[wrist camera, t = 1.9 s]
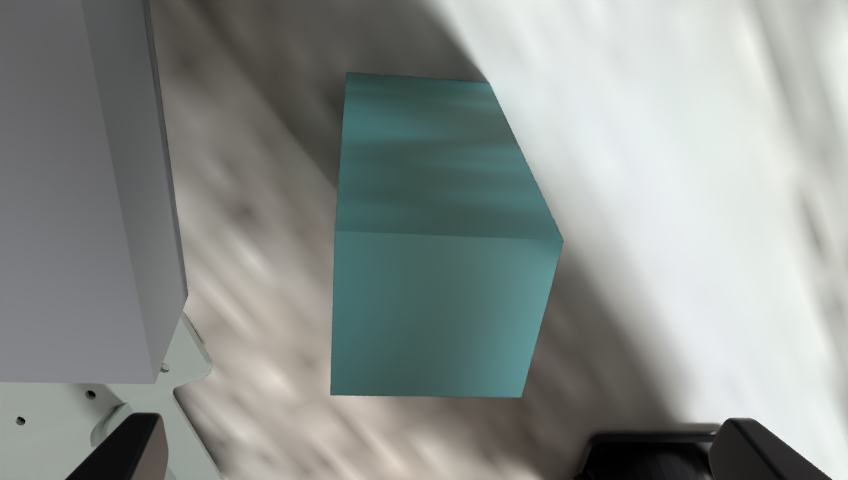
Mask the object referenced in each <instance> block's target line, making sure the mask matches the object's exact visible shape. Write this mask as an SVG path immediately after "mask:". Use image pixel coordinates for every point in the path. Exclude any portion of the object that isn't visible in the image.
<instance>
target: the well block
mask: <svg viewBox="0 0 848 480" xmlns="http://www.w3.org/2000/svg"><path fill="white" fill-rule="evenodd" d="M187 297H188V289H187V282H186V275H185V267H184V260H183V252H182V245H181V238H180V230H179V223H178V216H177V208H176V201H175V193H174V186H173V179H172V171H171V164H170V157H169V149H168V142H167V134H166V127H165V120H164V112H163V105H162V98H161V90H160V83H159V75H158V68H157V61H156V53H155V46H154V39H153V31H152V24H151V16H150V9H149V2H148V0H0V382H24V383H97V384H155V383H156V380H157V377H158V374H159V372H160V369H161V366H162V364H163V361H164V358H165V356H166V353H167V350H168V348H169V345H170V342H171V340H172V337H173V334H174V332H175V329H176V326H177V324H178V321H179V318H180V316H181V313H182V310H183V308H184V305H185V302H186V300H187Z"/></svg>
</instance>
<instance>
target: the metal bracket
mask: <svg viewBox="0 0 848 480" xmlns="http://www.w3.org/2000/svg"><path fill="white" fill-rule="evenodd" d="M163 363H165V364H167V365H168V366H169V370H164V369H162V368H161V369H160V372H159V374H158V377H157V380H156V383H155V384H97V383H24V382H0V480H65V479H66V478H67V477H68V476H69V475H70V474H71V473H72V472H73V471H74V470H75V469H76V468H77V467H78V466H79V465H80V464H81V463H82V462H83V461H84V460H85V459H86V458H87V457H88V456H89V455H90V454H91V453H92V452H93V451H94V450H95V449H96V448H97V447H98V446H99V445H100V444H101V443H102V442H103V441H104V440H105V439H106V438H107V437H108V436H109V435H110V434H111V433H112V432H113V431H114V430H115V429H116V428H117V427H118V426H119V425H120V424H121V423H122V422H123V421H124V420H125V418H127V417H128V416H129V415H130V414H132V413H136V412H156V413H159V414H161V416H162V418H163V422H164V427H165V432H166V438H167V443H168V449H169V455H168V464H167V469H166V474H165V479H164V480H224V478H223V476H222V475H221V473H220V471H219V470H218V468H217V466H216V465H215V463H214V461H213V460H212V458H211V457H210V455H209V453H208V452H207V450H206V448H205V447H204V445H203V443H202V442H201V440H200V438H199V437H198V435H197V433H196V432H195V430H194V428H193V427H192V425H191V424H190V422H189V420H188V419H187V417H186V415H185V414H184V412H183V410H182V409H181V407H180V405H179V404H178V402H177V400H176V399H175V397H174V395H173V389H174V388H175V387H178V386H181V385H184V384H186V383H189V382H192V381H195V380H197V379H200V378H203V377H206V376H208V375H209V374H210V373H211V372H212V370H213V368H214V365H213V362H212V360H211V358H210V357H209V355H208V353H207V351H206V350H205V348H204V346H203V344H202V343H201V341H200V339H199V337H198V336H197V334H196V332H195V330H194V329H193V327H192V325H191V323H190V322H189V320H188V318H187V316H186V315H185V313H184V311H183V310H182V313H181V316H180V318H179V321H178V324H177V326H176V329H175V332H174V334H173V337H172V340H171V342H170V345H169V348H168V350H167V353H166V356H165V358H164V361H163ZM88 390H91V391H93V392H94V393H95V394H96V397H92V396H90V395H89V394H88ZM19 416H20V417H23V418H24V419H25V422H24V423H23V422H21V421H20V420H19V419H18V417H19Z"/></svg>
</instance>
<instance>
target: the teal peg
mask: <svg viewBox="0 0 848 480" xmlns="http://www.w3.org/2000/svg"><path fill="white" fill-rule="evenodd" d="M563 241H564V240H563V238H562V236H561V234H560V232H559V230H558V228H557V226H556V223H555V221H554V219H553V217H552V215H551V213H550V211H549V209H548V206H547V204H546V202H545V200H544V198H543V196H542V194H541V192H540V190H539V187H538V185H537V183H536V181H535V179H534V177H533V175H532V173H531V170H530V168H529V166H528V164H527V162H526V160H525V158H524V156H523V153H522V151H521V149H520V147H519V145H518V143H517V141H516V139H515V136H514V134H513V132H512V130H511V128H510V126H509V124H508V122H507V120H506V117H505V115H504V113H503V111H502V109H501V107H500V105H499V103H498V100H497V98H496V96H495V94H494V92H493V90H492V88H491V86H490V83H486V82H472V81H458V80H445V79H431V78H418V77H404V76H390V75H377V74H363V73H350V72H347V74H346V87H345V101H344V114H343V128H342V141H341V155H340V169H339V182H338V196H337V209H336V223H335V245H334V281H333V316H332V352H331V388H330V395H349V396H439V397H521V396H522V393H523V389H524V385H525V381H526V378H527V374H528V370H529V367H530V363H531V359H532V356H533V352H534V348H535V345H536V341H537V337H538V334H539V330H540V326H541V322H542V319H543V315H544V311H545V308H546V304H547V300H548V297H549V293H550V289H551V286H552V282H553V278H554V275H555V271H556V267H557V263H558V260H559V256H560V252H561V249H562V245H563Z"/></svg>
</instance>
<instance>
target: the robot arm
mask: <svg viewBox="0 0 848 480" xmlns="http://www.w3.org/2000/svg"><path fill="white" fill-rule="evenodd" d="M168 455H169V449H168V443H167V438H166V432H165V427H164V422H163V418H162V416H161V414H159V413H156V412H136V413H132V414H130V415H129V416H128V417H127V418H125V420H124V421H123V422H122V423H121V424H120V425H119V426H118V427H117V428H116V429H115V430H114V431H113V432H112V433H111V434H110V435H109V436H108V437H107V438H106V439H105V440H104V441H103V442H102V443H101V444H100V445H99V446H98V447H97V448H96V449H95V450H94V451H93V452H92V453H91V454H90V455H89V456H88V457H87V458H86V459H85V460H84V461H83V462H82V463H81V464H80V465H79V466H78V467H77V468H76V469H75V470H74V471H73V472H72V473H71V474H70V475H69V476H68V477H67V478H66V479H65V480H164V479H165V474H166V469H167V464H168ZM572 480H832V479H831V478H830V477H828V476H827V475H826V474H824V473H823V472H822V471H821V470H819V469H818V468H817V467H815V466H814V465H813V464H812V463H810V462H809V461H808V460H806V459H805V458H804V457H803V456H801V455H800V454H799V453H797V452H796V451H795V450H794V449H792V448H791V447H790V446H788V445H787V444H786V443H785V442H783V441H782V440H781V439H779V438H778V437H777V436H776V435H774V434H773V433H772V432H770V431H769V430H768V429H767V428H765V427H764V426H763V425H761V424H760V423H759V422H757V421H756V420H754V419H751V418H729V419H727V420H726V421H725V422H724V423H723V425H722V427H721V429H720V430H719V432H718V434H717V435H623V434H602V435H596V436H594V437H592V438H591V439H590V440H589V441H588V443H587V446H586V449H585V451H584V454H583V457H582V459H581V462H580V465H579V467H578V470H577V472H576V474H575V475H574V477H573V478H572Z"/></svg>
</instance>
